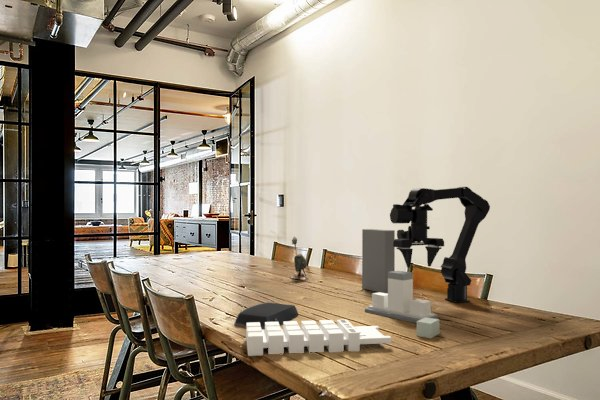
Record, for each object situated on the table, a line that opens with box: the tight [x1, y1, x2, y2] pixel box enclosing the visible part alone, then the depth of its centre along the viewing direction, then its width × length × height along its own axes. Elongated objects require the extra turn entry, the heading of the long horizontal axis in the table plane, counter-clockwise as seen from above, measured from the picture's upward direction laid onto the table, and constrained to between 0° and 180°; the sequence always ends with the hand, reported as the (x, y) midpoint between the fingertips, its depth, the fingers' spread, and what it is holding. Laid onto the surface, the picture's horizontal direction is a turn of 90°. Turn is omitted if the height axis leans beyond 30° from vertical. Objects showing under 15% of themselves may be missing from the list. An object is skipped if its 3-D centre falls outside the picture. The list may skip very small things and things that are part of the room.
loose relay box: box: [416, 317, 440, 339], centre depth 129 cm, size 6×4×4 cm, turn 143°
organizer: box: [245, 319, 392, 357], centre depth 119 cm, size 13×5×35 cm
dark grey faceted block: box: [234, 301, 299, 330], centre depth 145 cm, size 13×19×4 cm
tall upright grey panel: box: [361, 228, 396, 294], centre depth 195 cm, size 14×6×25 cm, turn 34°
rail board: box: [364, 292, 439, 324], centre depth 152 cm, size 10×21×6 cm, turn 41°
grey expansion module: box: [387, 270, 414, 313], centre depth 152 cm, size 5×6×12 cm
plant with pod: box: [289, 236, 309, 280], centre depth 225 cm, size 8×11×20 cm
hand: (418, 266), depth 170 cm, fingers open, 9 cm apart
